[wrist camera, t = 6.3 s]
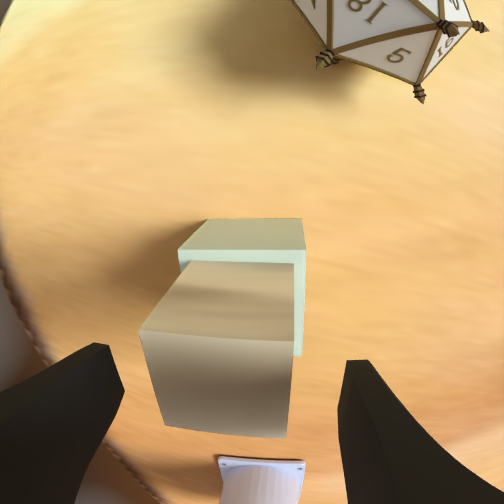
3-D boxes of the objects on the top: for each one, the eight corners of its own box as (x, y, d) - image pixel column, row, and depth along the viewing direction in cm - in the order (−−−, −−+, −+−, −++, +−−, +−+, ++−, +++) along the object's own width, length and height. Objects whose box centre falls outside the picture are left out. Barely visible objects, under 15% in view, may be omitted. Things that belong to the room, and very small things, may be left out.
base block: (300, 302, 18) (301, 356, 13) (215, 300, 19) (192, 351, 14) (301, 218, 16) (306, 249, 12) (208, 219, 17) (177, 249, 12)
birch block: (289, 347, 13) (285, 438, 9) (200, 342, 14) (165, 424, 9) (293, 263, 12) (293, 341, 7) (191, 260, 12) (137, 329, 8)
